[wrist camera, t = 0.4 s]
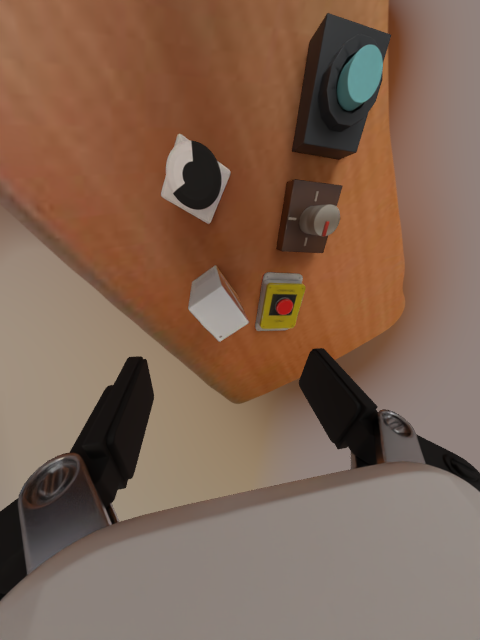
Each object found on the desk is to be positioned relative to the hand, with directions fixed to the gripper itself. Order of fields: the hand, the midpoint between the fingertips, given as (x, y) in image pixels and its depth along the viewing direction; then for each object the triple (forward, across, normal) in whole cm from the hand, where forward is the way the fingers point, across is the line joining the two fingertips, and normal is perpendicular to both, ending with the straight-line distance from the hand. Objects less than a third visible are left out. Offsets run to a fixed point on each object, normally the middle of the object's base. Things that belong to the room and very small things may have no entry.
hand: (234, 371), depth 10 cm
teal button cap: (+24, -17, -24) cm, 38 cm away
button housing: (+30, -17, -24) cm, 42 cm away
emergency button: (+30, -16, +9) cm, 35 cm away
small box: (+30, -1, +6) cm, 30 cm away
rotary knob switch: (+30, -18, -9) cm, 36 cm away
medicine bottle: (+30, +2, -11) cm, 32 cm away
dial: (+27, -18, -9) cm, 33 cm away
